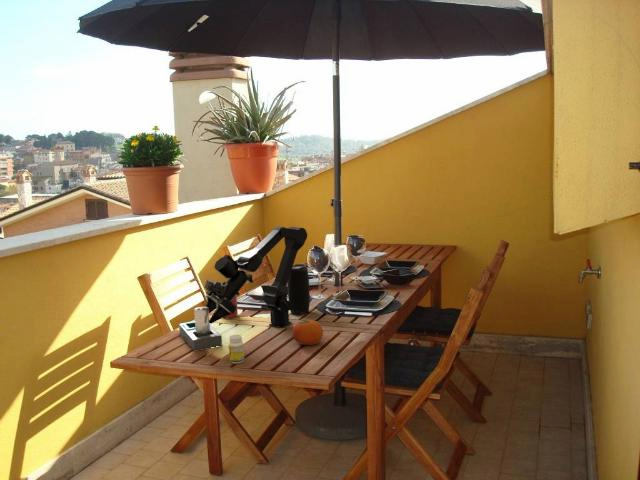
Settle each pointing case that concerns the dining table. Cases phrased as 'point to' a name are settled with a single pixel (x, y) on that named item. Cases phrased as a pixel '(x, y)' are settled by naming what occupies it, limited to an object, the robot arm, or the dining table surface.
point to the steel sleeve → (202, 321)
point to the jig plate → (199, 342)
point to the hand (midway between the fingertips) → (205, 319)
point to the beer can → (236, 308)
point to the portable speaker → (299, 289)
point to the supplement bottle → (236, 349)
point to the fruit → (307, 332)
